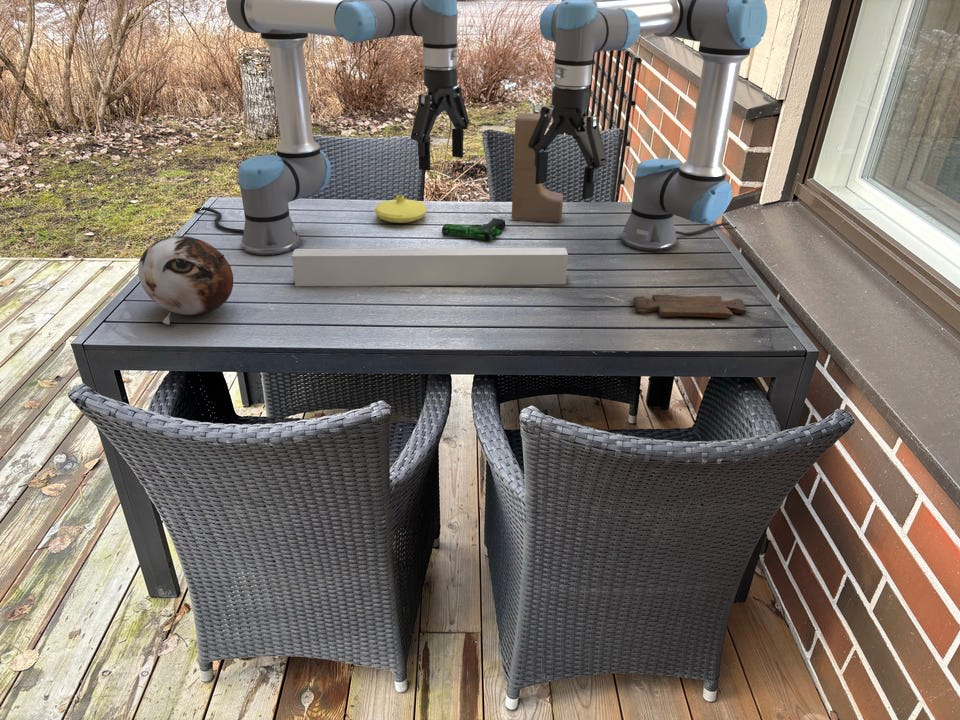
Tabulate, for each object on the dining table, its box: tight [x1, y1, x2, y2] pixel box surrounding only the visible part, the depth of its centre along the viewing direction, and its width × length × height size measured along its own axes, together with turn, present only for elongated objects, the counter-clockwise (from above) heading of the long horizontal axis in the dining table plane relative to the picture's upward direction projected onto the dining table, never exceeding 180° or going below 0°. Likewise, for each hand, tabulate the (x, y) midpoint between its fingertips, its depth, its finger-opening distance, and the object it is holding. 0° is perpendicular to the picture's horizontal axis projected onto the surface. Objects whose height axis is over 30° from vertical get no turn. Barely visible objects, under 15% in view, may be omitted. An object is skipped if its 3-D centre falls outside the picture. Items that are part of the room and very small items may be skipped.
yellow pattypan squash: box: [374, 194, 428, 224], centre depth 214 cm, size 16×16×7 cm
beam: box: [291, 247, 569, 287], centre depth 176 cm, size 67×4×8 cm, turn 93°
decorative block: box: [511, 112, 564, 223], centre depth 211 cm, size 8×15×30 cm, turn 82°
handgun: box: [441, 217, 506, 242], centre depth 207 cm, size 16×3×15 cm
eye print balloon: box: [137, 235, 234, 326], centre depth 158 cm, size 22×18×20 cm
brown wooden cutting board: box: [632, 294, 747, 319], centre depth 166 cm, size 26×2×10 cm
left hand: (441, 163), depth 170 cm, fingers open, 13 cm apart
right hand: (563, 190), depth 154 cm, fingers open, 13 cm apart
